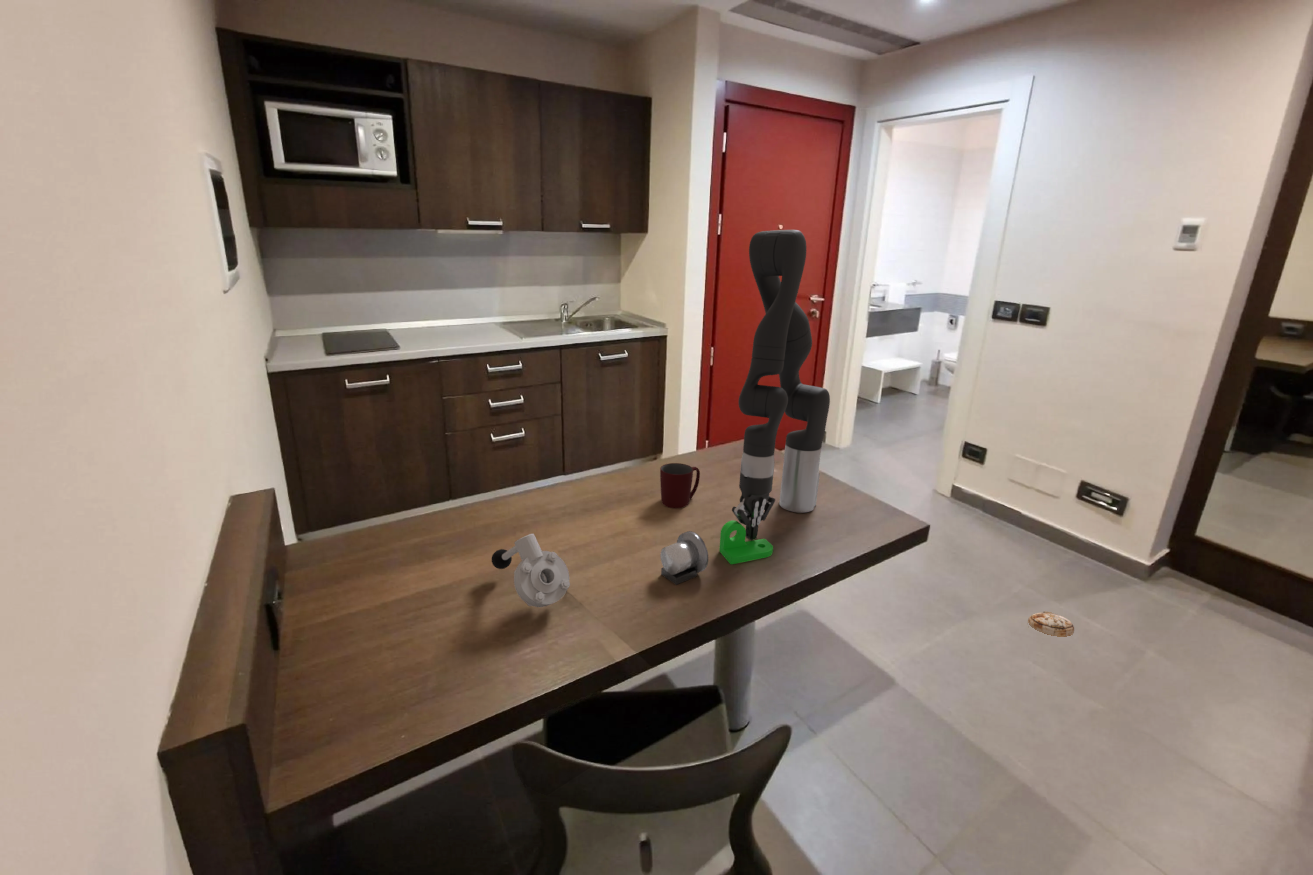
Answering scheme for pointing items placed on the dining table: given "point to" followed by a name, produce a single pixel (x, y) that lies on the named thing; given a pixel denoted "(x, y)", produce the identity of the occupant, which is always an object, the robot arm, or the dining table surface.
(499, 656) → the dining table surface
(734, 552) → the mechanical part
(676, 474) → the mug
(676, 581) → the grey mushroom knob
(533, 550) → the mechanical valve
